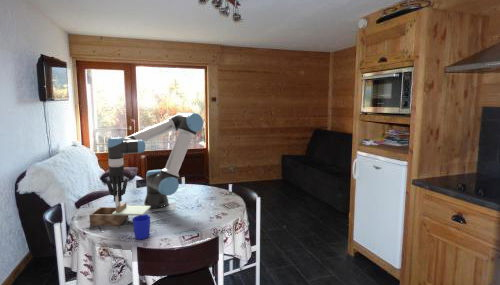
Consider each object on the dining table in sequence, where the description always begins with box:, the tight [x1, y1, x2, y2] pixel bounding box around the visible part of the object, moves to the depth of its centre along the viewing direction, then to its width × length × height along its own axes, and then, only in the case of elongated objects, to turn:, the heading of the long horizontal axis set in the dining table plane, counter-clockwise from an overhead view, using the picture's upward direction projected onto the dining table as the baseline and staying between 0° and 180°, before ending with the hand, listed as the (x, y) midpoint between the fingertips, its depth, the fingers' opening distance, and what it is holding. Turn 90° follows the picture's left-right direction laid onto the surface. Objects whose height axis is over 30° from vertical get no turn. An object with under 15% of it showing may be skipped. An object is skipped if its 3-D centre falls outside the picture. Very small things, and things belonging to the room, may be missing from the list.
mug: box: [132, 213, 151, 240], centre depth 151 cm, size 8×12×10 cm
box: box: [89, 206, 130, 227], centre depth 168 cm, size 16×12×6 cm
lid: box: [112, 202, 152, 216], centre depth 168 cm, size 17×13×3 cm
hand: (118, 207), depth 168 cm, fingers closed
